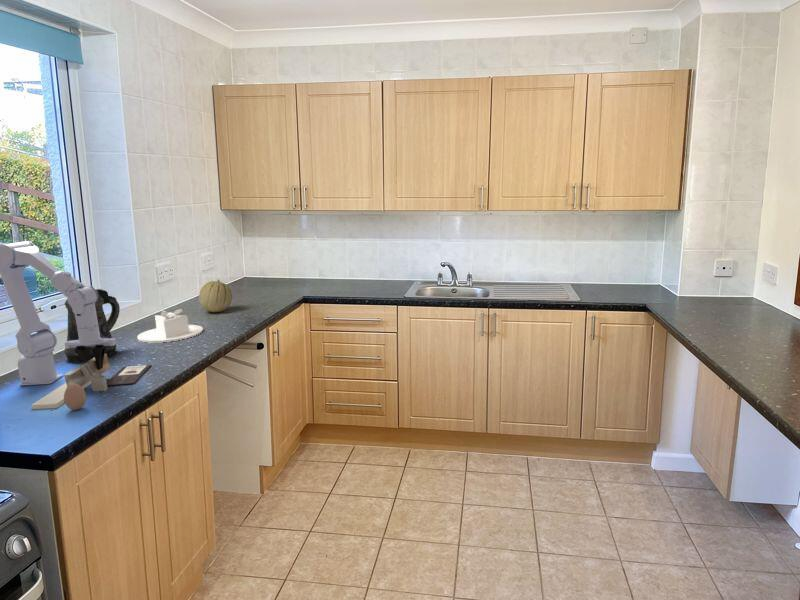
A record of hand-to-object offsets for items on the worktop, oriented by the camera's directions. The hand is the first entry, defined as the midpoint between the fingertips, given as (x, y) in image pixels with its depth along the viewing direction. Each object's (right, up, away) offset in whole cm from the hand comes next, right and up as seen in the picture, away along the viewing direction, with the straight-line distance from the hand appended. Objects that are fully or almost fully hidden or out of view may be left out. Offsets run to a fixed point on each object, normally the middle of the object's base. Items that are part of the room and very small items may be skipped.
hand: (94, 369), depth 179 cm
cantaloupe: (+8, +16, +94) cm, 96 cm away
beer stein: (-17, +1, +32) cm, 36 cm away
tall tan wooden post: (0, -3, -2) cm, 4 cm away
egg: (+6, -9, -20) cm, 23 cm away
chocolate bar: (+8, -4, +6) cm, 10 cm away
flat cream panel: (-4, -7, -9) cm, 12 cm away
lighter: (+3, -6, -6) cm, 9 cm away
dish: (+2, +7, +56) cm, 56 cm away
